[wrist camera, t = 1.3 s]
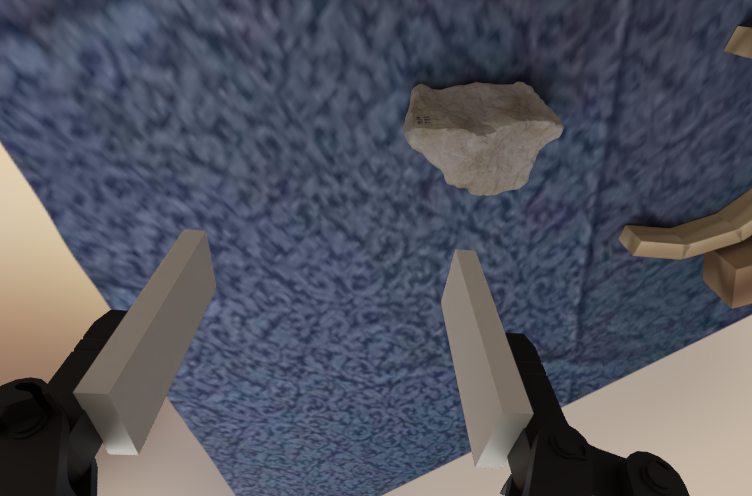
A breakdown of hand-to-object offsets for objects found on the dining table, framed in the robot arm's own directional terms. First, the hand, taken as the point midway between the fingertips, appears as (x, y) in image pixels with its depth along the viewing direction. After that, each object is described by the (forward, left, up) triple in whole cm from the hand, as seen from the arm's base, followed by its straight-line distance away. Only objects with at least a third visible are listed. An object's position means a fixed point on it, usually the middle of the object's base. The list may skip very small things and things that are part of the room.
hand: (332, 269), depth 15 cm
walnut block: (+9, +36, -18) cm, 41 cm away
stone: (0, +9, -18) cm, 20 cm away
